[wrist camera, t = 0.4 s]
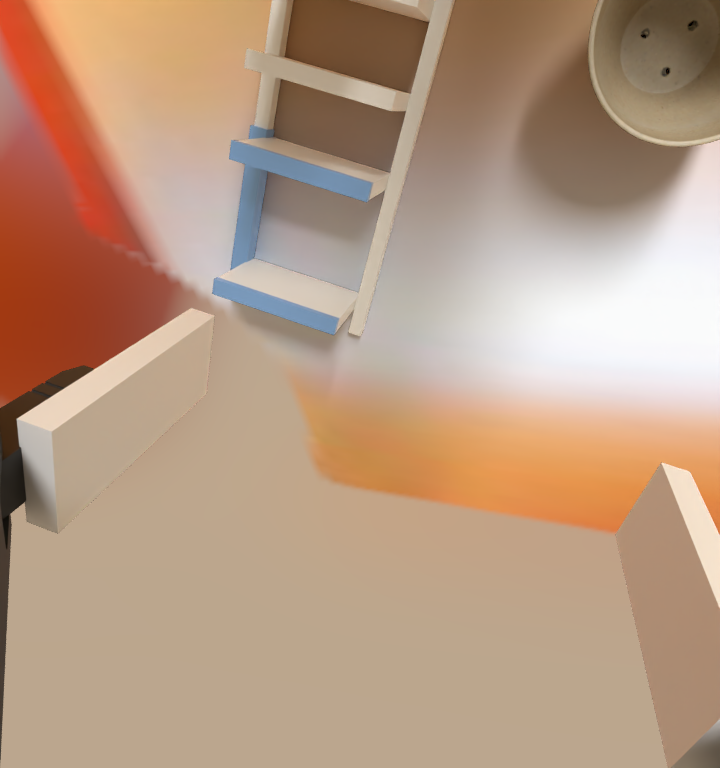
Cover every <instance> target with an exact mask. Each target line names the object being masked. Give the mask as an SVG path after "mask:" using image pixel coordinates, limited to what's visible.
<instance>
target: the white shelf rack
mask: <svg viewBox="0 0 720 768" xmlns="http://www.w3.org/2000/svg"><path fill="white" fill-rule="evenodd" d="M350 1H353V2H357V3H361V4H364V5H368V6H372V7H375V8H379V9H382V10H386V11H390V12H393V13H397V14H400V15H404V16H408V17H411V18H415V19H419V20H422V21H426V22H429V26H428V30H427V34H426V38H425V41H424V45H423V49H422V53H421V57H420V60H419V64H418V68H417V72H416V76H415V80H414V83H413V87H412V91H411V94H410V93H406V92H403V91H399V90H396V89H392V88H389V87H386V86H382V85H379V84H375V83H372V82H368V81H365V80H361V79H358V78H355V77H351V76H348V75H344V74H341V73H337V72H334V71H331V70H327V69H324V68H320V67H317V66H313V65H310V64H306V63H303V62H300V61H296V60H293V59H289V58H286V57H285V51H286V44H287V38H288V32H289V25H290V19H291V13H292V6H293V0H272V4H271V11H270V18H269V25H268V32H267V39H266V46H265V52H260V51H256V50H252V49H248V48H247V50H246V58H245V65H244V68H246V69H250V70H253V71H256V72H260V73H262V74H261V81H260V88H259V95H258V103H257V110H256V117H255V124H254V125H250V133H249V139H246V140H231V148H230V156H229V159H230V160H234V161H237V162H240V163H243V164H245V169H244V176H243V183H242V190H241V198H240V205H239V212H238V219H237V226H236V234H235V241H234V248H233V255H232V262H231V270H230V271H229V272H227V273H225V274H223V275H221V276H220V277H217V278H215V279H214V284H213V292H212V294H214V295H217V296H220V297H223V298H226V299H229V300H232V301H235V302H238V303H241V304H244V305H246V306H249V307H252V308H255V309H258V310H261V311H264V312H267V313H270V314H273V315H276V316H279V317H282V318H285V319H288V320H290V321H293V322H296V323H299V324H302V325H305V326H308V327H311V328H314V329H317V330H320V331H323V332H326V333H329V334H332V335H334V334H335V333H336V331H337V330H338V329H339V328H340V326H341V325H342V324H343V323H344V321H345V320H346V319H347V318H348V316H349V315H350V314H351V313H352V311H353V310H354V312H353V316H352V320H351V324H350V327H349V331H348V333H351V334H354V335H357V336H361V335H362V333H363V331H364V328H365V324H366V320H367V317H368V313H369V309H370V306H371V302H372V299H373V295H374V291H375V288H376V284H377V281H378V277H379V273H380V270H381V266H382V263H383V259H384V255H385V252H386V248H387V244H388V241H389V237H390V234H391V230H392V226H393V223H394V219H395V216H396V212H397V208H398V205H399V201H400V198H401V194H402V190H403V187H404V183H405V179H406V176H407V172H408V169H409V165H410V161H411V158H412V154H413V151H414V147H415V143H416V140H417V136H418V133H419V129H420V125H421V122H422V118H423V114H424V111H425V107H426V104H427V100H428V96H429V93H430V89H431V86H432V82H433V78H434V75H435V71H436V68H437V64H438V60H439V57H440V53H441V49H442V46H443V42H444V39H445V35H446V31H447V28H448V24H449V21H450V17H451V13H452V10H453V6H454V3H455V0H435V1H434V0H350ZM281 79H284V80H287V81H290V82H294V83H297V84H300V85H304V86H307V87H311V88H314V89H317V90H321V91H324V92H328V93H331V94H334V95H338V96H341V97H345V98H348V99H351V100H355V101H358V102H361V103H365V104H368V105H372V106H375V107H378V108H382V109H385V110H389V111H406V114H405V118H404V121H403V125H402V129H401V133H400V137H399V141H398V144H397V148H396V152H395V156H394V160H393V163H392V167H391V171H390V173H389V172H385V171H382V170H379V169H376V168H372V167H369V166H366V165H363V164H359V163H356V162H353V161H350V160H346V159H343V158H340V157H337V156H333V155H330V154H327V153H324V152H320V151H317V150H314V149H310V148H307V147H304V146H301V145H297V144H294V143H291V142H288V141H284V140H281V139H278V138H275V137H273V136H274V129H273V127H274V120H275V114H276V108H277V101H278V95H279V89H280V82H281ZM268 171H269V172H272V173H275V174H278V175H281V176H285V177H288V178H291V179H294V180H297V181H301V182H304V183H307V184H310V185H313V186H316V187H320V188H323V189H326V190H329V191H332V192H336V193H339V194H342V195H345V196H348V197H352V198H355V199H358V200H361V201H364V202H368V201H369V200H370V199H372V198H373V197H375V196H377V195H378V194H380V193H382V192H383V191H385V194H384V198H383V202H382V205H381V209H380V213H379V217H378V221H377V224H376V228H375V232H374V236H373V240H372V243H371V247H370V251H369V255H368V259H367V263H366V266H365V270H364V274H363V278H362V282H361V285H360V289H359V293H358V292H355V291H352V290H349V289H346V288H343V287H340V286H337V285H334V284H331V283H328V282H325V281H322V280H319V279H316V278H313V277H310V276H306V275H303V274H300V273H297V272H294V271H291V270H288V269H285V268H282V267H279V266H276V265H273V264H270V263H267V262H264V261H261V260H258V259H255V258H254V255H255V249H256V243H257V236H258V230H259V224H260V218H261V211H262V205H263V199H264V192H265V186H266V180H267V173H268Z"/></svg>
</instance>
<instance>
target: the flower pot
mask: <svg viewBox="0 0 720 768" xmlns="http://www.w3.org/2000/svg"><path fill="white" fill-rule="evenodd" d="M692 21H694V23H693V25H692V26H688V25H689V24H690V23H691V22H692ZM642 34H645V35H646V38H643V37H642V36H641V35H642ZM588 66H589V73H590V78H591V82H592V85H593V89H594V91H595V94H596V96H597V98H598V100H599V102H600V104H601V105H602V107H603V109H604V110H605V111H606V113H607V114H608V115H609V117H610V118H611V119H612V120H613V121H614V122H615V123H616V124H617V125H618V126H620V127H621V128H622V129H623V130H625V131H626V132H628V133H629V134H631V135H632V136H634V137H636V138H638V139H641V140H643V141H646V142H649V143H653V144H657V145H662V146H671V147H688V146H695V145H701V144H706V143H710V142H713V141H717V140H720V0H598V3H597V5H596V8H595V12H594V15H593V19H592V23H591V28H590V33H589V40H588ZM667 68H669V70H670V72H669V74H666V69H667Z"/></svg>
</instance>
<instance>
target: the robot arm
mask: <svg viewBox="0 0 720 768" xmlns="http://www.w3.org/2000/svg"><path fill="white" fill-rule="evenodd" d="M214 320H215V316H214V315H211V314H208V313H205V312H202V311H199V310H196V309H193V308H190V309H189V310H187V311H186V312H184V313H183V314H181V315H179V316H178V317H176V318H175V319H173V320H171V321H170V322H168V323H167V324H165V325H164V326H162V327H161V328H159V329H157V330H156V331H154V332H153V333H151V334H149V335H148V336H147V337H145V338H143V339H142V340H140V341H138V342H137V343H135V344H134V345H132V346H131V347H129V348H127V349H126V350H124V351H123V352H121V353H120V354H118V355H116V356H115V357H114V358H112V359H110V360H109V361H107V362H105V363H104V364H102V365H101V366H99V367H98V368H96V369H93V368H90V367H87V366H80V367H76V368H73V369H69V370H66V371H62V372H60V373H59V374H57V375H56V376H54V377H52V378H50V379H49V380H47V381H46V383H45V384H43V383H42V384H40V385H39V386H37V387H35V388H33V389H32V391H31V392H30V391H28V392H27V393H25V394H23V395H22V396H20V397H18V398H17V399H15V400H13V401H12V402H10V403H8V404H7V405H5V406H3V407H2V408H0V759H1V738H2V736H1V735H2V716H3V695H4V674H5V673H4V672H5V652H6V631H7V609H8V588H9V586H8V585H9V567H10V545H11V525H12V524H11V516H10V514H11V513H12V512H13V511H14V510H15V509H17V508H18V507H19V506H20V505H22V504H23V503H24V502H25V507H26V508H25V509H26V518H27V522H29V523H31V524H34V525H36V526H39V527H42V528H45V529H47V530H49V531H52V532H55V533H57V534H58V533H59V532H60V531H62V530H63V529H64V528H65V527H66V526H67V525H68V524H69V523H70V522H71V521H72V520H73V519H74V518H75V517H76V516H77V515H79V513H81V511H83V510H84V509H85V508H86V507H87V506H88V505H89V504H90V503H91V502H92V501H93V500H94V499H95V498H96V497H98V496H99V495H100V494H101V493H102V492H103V491H104V490H105V489H106V488H107V487H108V486H109V485H110V484H111V483H112V482H114V480H116V479H117V478H118V477H119V476H120V475H121V474H122V473H123V472H124V471H125V470H126V469H127V468H128V467H129V466H130V465H131V464H132V463H134V462H135V461H136V460H137V459H138V458H139V457H140V456H141V455H142V454H143V453H144V452H145V451H146V450H147V449H149V448H150V447H151V446H152V445H153V444H154V443H155V442H156V441H157V440H158V439H159V438H160V437H161V436H162V435H163V434H164V433H166V431H168V430H169V429H170V428H171V427H172V426H173V425H174V424H175V423H176V422H177V421H178V420H179V419H180V418H181V417H182V416H184V414H186V413H187V412H188V411H189V410H190V409H191V408H192V407H193V406H194V405H195V404H196V403H197V402H198V401H199V400H201V399H202V398H203V397H204V396H205V395H206V394H207V386H208V377H209V367H210V358H211V348H212V339H213V329H214ZM615 536H616V541H617V545H618V549H619V553H620V558H621V563H622V567H623V572H624V576H625V580H626V585H627V589H628V594H629V598H630V602H631V607H632V611H633V616H634V620H635V625H636V629H637V633H638V638H639V642H640V647H641V651H642V655H643V660H644V664H645V669H646V673H647V678H648V682H649V687H650V690H651V695H652V700H653V704H654V709H655V713H656V717H657V722H658V726H659V731H660V735H661V739H662V744H663V748H664V753H665V757H666V762H667V766H668V768H720V535H719V533H718V531H717V529H716V527H715V524H714V522H713V520H712V518H711V516H710V514H709V512H708V509H707V507H706V505H705V503H704V501H703V499H702V497H701V494H700V492H699V490H698V488H697V486H696V484H695V481H694V479H693V477H692V475H691V473H690V472H689V471H686V470H683V469H680V468H677V467H674V466H671V465H668V464H665V463H662V462H661V464H660V465H659V467H658V468H657V470H656V472H655V473H654V475H653V476H652V478H651V479H650V481H649V483H648V484H647V486H646V487H645V489H644V490H643V492H642V494H641V495H640V497H639V498H638V500H637V501H636V503H635V505H634V506H633V508H632V509H631V511H630V512H629V514H628V516H627V517H626V519H625V520H624V522H623V523H622V525H621V527H620V528H619V530H618V531H617V533H616V534H615Z"/></svg>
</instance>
